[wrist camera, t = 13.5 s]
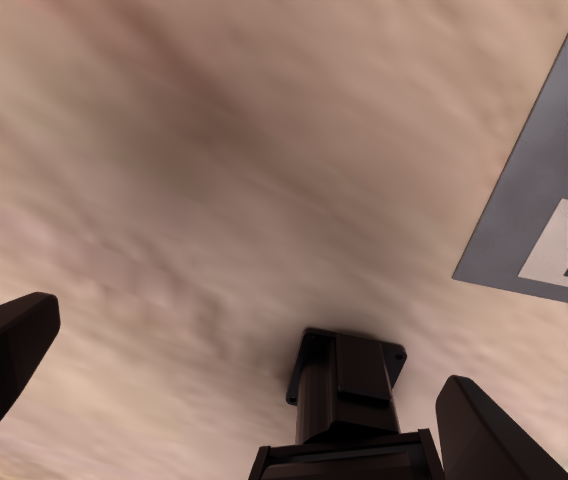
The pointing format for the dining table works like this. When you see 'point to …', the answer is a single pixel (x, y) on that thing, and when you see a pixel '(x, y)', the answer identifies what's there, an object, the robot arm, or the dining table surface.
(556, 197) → the label plate
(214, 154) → the dining table surface
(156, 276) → the dining table surface
